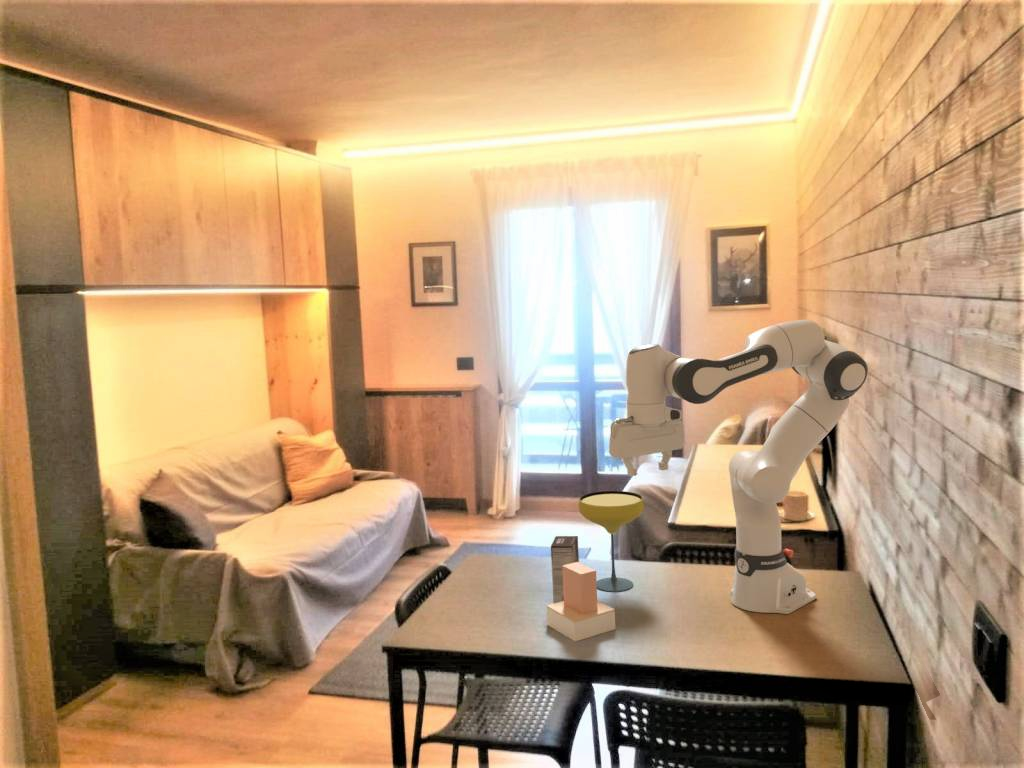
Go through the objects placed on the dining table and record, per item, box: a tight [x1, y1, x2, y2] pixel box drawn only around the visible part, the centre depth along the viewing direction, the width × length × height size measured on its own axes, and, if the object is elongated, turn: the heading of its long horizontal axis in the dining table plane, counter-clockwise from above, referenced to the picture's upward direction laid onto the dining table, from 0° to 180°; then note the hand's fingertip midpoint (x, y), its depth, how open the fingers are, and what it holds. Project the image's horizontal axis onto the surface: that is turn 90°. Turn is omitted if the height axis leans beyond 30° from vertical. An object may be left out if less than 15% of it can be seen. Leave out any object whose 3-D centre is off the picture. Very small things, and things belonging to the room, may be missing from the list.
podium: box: [546, 600, 616, 642], centre depth 190 cm, size 12×12×5 cm
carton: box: [562, 561, 598, 615], centre depth 190 cm, size 4×8×10 cm, turn 30°
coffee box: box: [550, 535, 580, 604], centre depth 209 cm, size 9×6×16 cm
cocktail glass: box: [578, 490, 645, 593], centre depth 217 cm, size 18×18×25 cm
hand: (648, 472), depth 182 cm, fingers open, 8 cm apart
